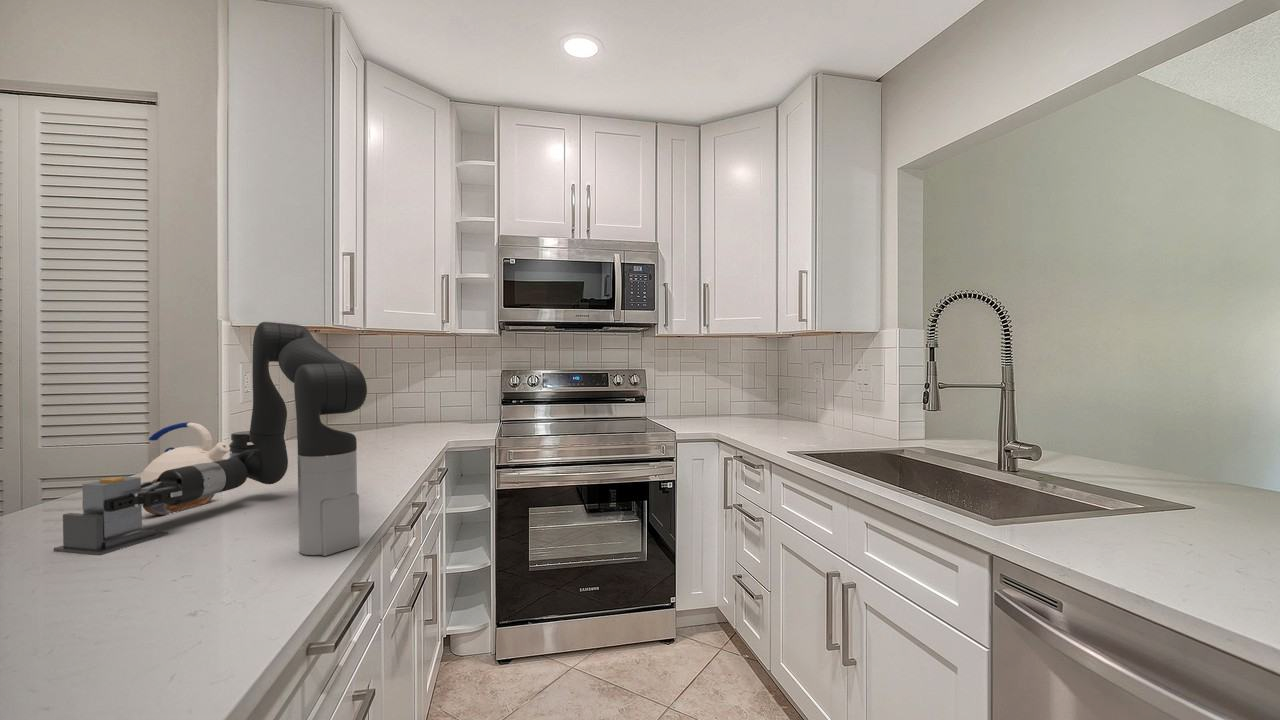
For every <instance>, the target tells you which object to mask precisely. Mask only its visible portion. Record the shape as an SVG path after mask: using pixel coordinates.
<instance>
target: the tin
mask: <svg viewBox="0 0 1280 720" xmlns="http://www.w3.org/2000/svg"><path fill="white" fill-rule="evenodd" d="M157 479H158V478H157ZM157 479H155V480H153V481H154V483H155V482H156V481H157ZM214 496H215V494H213V495H211V496H208V497H205V498H201V499H198V500H194V501H190V502H186V503H183V504H179V505H175V506H169V505H166V504H164V503H161V504H156V505H152V506H149V507H144V506H142V508H143V510H144V511H146V512H147V513H149V514H151V515H161V516H167V515H166V514H168V515H170V514H169V513H172V514H174V513H173V512H176V513H178V512H177V511H179V512H181V511H180V510H183V509H186V510H188V509H187V508H190V507H193V508H195V507H194V506H197V505H200V506H202V505H201V504H203V505H206V504H207V503H208V502H210V501H211V500H212V499H213V498H214ZM197 507H198V506H197ZM190 509H191V508H190ZM183 511H184V510H183Z"/></svg>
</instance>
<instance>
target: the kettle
mask: <svg viewBox="0 0 1280 720" xmlns="http://www.w3.org/2000/svg"><path fill="white" fill-rule="evenodd" d="M182 428H191V429H194V430H196V431H197V432H198V433H199V434H200V436H201V440H202V445H188V446H186V445H185V446H179V447H175V448H174V447H167V448H166V449H165V450H164V452H163V453H162V454H160V455H158V456H157V457H156V458H153V459H152V460H151V462H150V463H149V464H148V465H147V466H146V467H145V468H144V469H143V471H142V473H141V474H140V476H139V478H141V483H143V482H148V481H153V480H155V479H157V478H158V477H159V476H160V475H161V474H162V473H163V472H164V471H167V470H171V469H176V468H181V467H185V466H190V465H195V464H201V463H211V462H215V461H220V460H226V459H229V458H228V457H227V456H226V454H227V453H230V447H229V445H230V444H229V445H228V444H227V443H225V442H223V441H220V442H217V444H215V446H214V447H213V438H212V434H211V433H210V431H209V430H208V429H207V428H206V427H205V426H204V425H202V424H200V423H195V422H191V421H188V422H187V421H186V422H180V423H175V424H172V425H168V426H166V427H163V428H161V429H160V430H158V431H156V432H154V434H152V435H151V436H150V437H148V440H149V441H151V442H152V441H159V439H161V438H162V436H164V435H165V434H168V433H170V432H172V431H175V430H178V429H182Z"/></svg>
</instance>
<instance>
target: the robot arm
mask: <svg viewBox="0 0 1280 720" xmlns="http://www.w3.org/2000/svg"><path fill="white" fill-rule="evenodd" d="M270 362H273V363H275V362H277V363H278V366H279V368H280V370H281V372H282V373H283V375H285V377H286V378H287V380H289V381H290V382H292V383H293V384H294V385H293V387H294V389H293V390H294V402H295V403H294V404H295V405H294V406H295V414H296V417H295V418H296V435H297V436H296V441H297V443H296V444H297V501H298V502H297V504H298V505H297V506H298V507H297V509H298V512H297V514H298V517H297V518H298V550H299V551H298V552H299V553H300V554H302V555H306V556H322V557H324V556H327V557H328V556H330V555H333V554H336V553H339V552H342V551H345V550H348V549H351V548H356V547H357V546H360V499H359V498H360V497H359V494H358V471H357V470H358V467H357V465H358V464H357V463H358V462H357V460H358V457H357V454H358V452H357V448H358V446H357V437H356V435H355V434H353V433H351V432H346V431H342V430H339V429H338V430H337V429H333V428H331V427H328V426H327V425H325V424H324V423H323V422H322V421H321V416H322V415H323V416H324V415H336V414H338V415H339V414H347V413H352V412H355V411H357V410H358V409H360V408H361V407H362V406H363V405H364V403H365V401H366V398H367V396H368V395H367V394H368V386H367V382H366V381H367V380H366V378H365V376H364V374H363V372H362V370H361V369H360V368H359V367H358V366H357V365H355V364H353V363H351V362H348V361H346V360H344V359H341V358H339V357H338V356H336V355H335V354H334V353H332V352H330V351H329V350H328V349H327V348H326V347H325V346H324V345H322V344H321V343H319V342H318V341H317V340H315V338H314V336H313V334H312V333H311V332H310V331H309V329H308V328H307V327H305V326H303V325H299V324H293V323H292V324H291V323H282V322H275V321H273V322H272V321H262V322H260V323H258V325H256V329H255V330H254V334H253V339H252V409H251V411H252V412H251V418H250V427H249V431H250V433H249V439H250V441H251V442H252V443H253V444H254V445H255V446H256V447H257V448H258V449H251V450H246V451H243V452H241V453H239V454H237V455H235V456H232V457H231V458H230V457H229V458H228V459H226V460H220V461H215V462H211V463H201V464H195V465H190V466H185V467H181V468H176V469H171V470H167V471H164V472H163V473H162V474H161V475H160V476H159V477H158V479H157V481H156V482H155V483H154V481H148V482H143V483H141V492H137V493H134V494H132V497H131V495H126V496H122V497H118V498H113V499H109V500H107V501H106V502H105V508H106V511H107V512H112V511H116V510H120V509H124V508H128V507H139V506H142V507H143V506H144V507H149V506H152V505H156V504H161V503H164V504H166V505H169V506H175V505H179V504H183V503H186V502H190V501H194V500H198V499H201V498H205V497H208V496H211V495H213V494H214V495H216V494H219V493H222V492H227V491H231V490H233V489H236V488H238V487H241V486H242V485H244V483H246V481H247V480H248V479H249V480H252V481H255V482H259V483H260V484H265V485H273V484H276V483H278V482H280V481H281V480H282V479H283V477H285V475H286V473H287V471H288V467H289V465H288V464H289V458H288V457H289V456H288V451H287V445H286V441H285V433H286V432H285V431H286V425H287V419H288V410H287V405H286V403H285V401H284V398H283V397H282V395H281V394H280V392H279V390H278V388H276V385H275V384H274V382H273V380H272V378H271V375H270V367H269V366H270V365H269V364H270ZM247 478H248V479H247Z"/></svg>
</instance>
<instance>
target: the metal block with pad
mask: <svg viewBox="0 0 1280 720" xmlns="http://www.w3.org/2000/svg"><path fill="white" fill-rule="evenodd" d="M81 489H82V514H92V515H103V540H107V539H110V538H114V537H117V536H120V535H124V534H127V533H131V532H134V531H137V530H143V513H142V508H143V506H139V507H128V508H124V509H120V510H116V511H112V512H107V511H106V508H105V502H106V501H107V500H109V499H113V498H118V497H122V496H126V495H131V497H132V494H134V493H137V492H141V478H140V476H139V477H138V476H137V477H134V476H118V477H117V476H116V477H114V476H111V477H107V478H101V479H99V480H97V481H92V482H87V483H83V484H82V488H81Z"/></svg>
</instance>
